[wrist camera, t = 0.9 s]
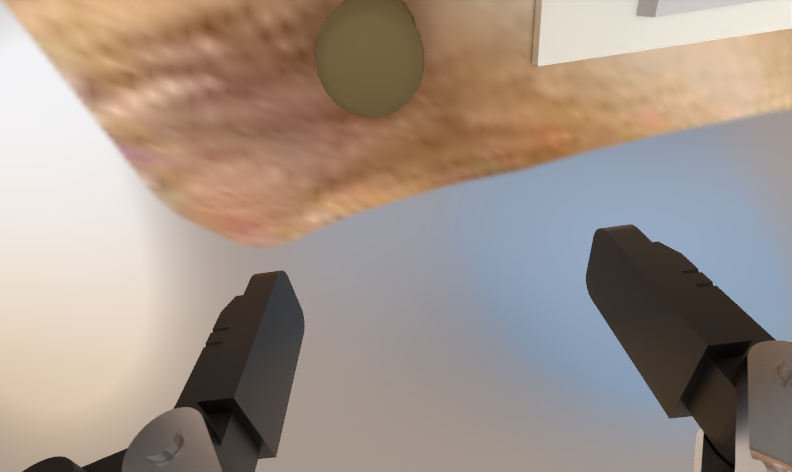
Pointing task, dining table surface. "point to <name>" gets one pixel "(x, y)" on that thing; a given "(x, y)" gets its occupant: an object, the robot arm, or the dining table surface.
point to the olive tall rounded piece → (370, 56)
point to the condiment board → (645, 25)
